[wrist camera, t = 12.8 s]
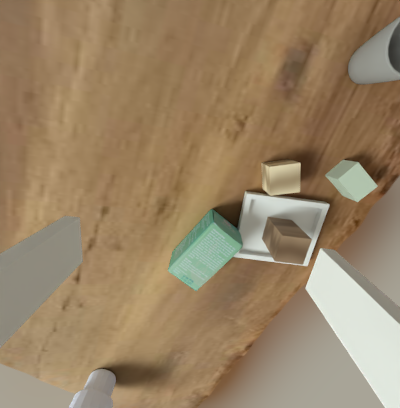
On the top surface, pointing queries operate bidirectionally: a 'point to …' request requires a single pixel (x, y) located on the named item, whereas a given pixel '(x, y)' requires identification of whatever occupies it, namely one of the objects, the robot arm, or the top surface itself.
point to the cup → (378, 57)
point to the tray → (277, 208)
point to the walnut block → (286, 240)
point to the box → (205, 250)
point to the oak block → (281, 177)
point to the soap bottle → (96, 391)
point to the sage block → (351, 180)
